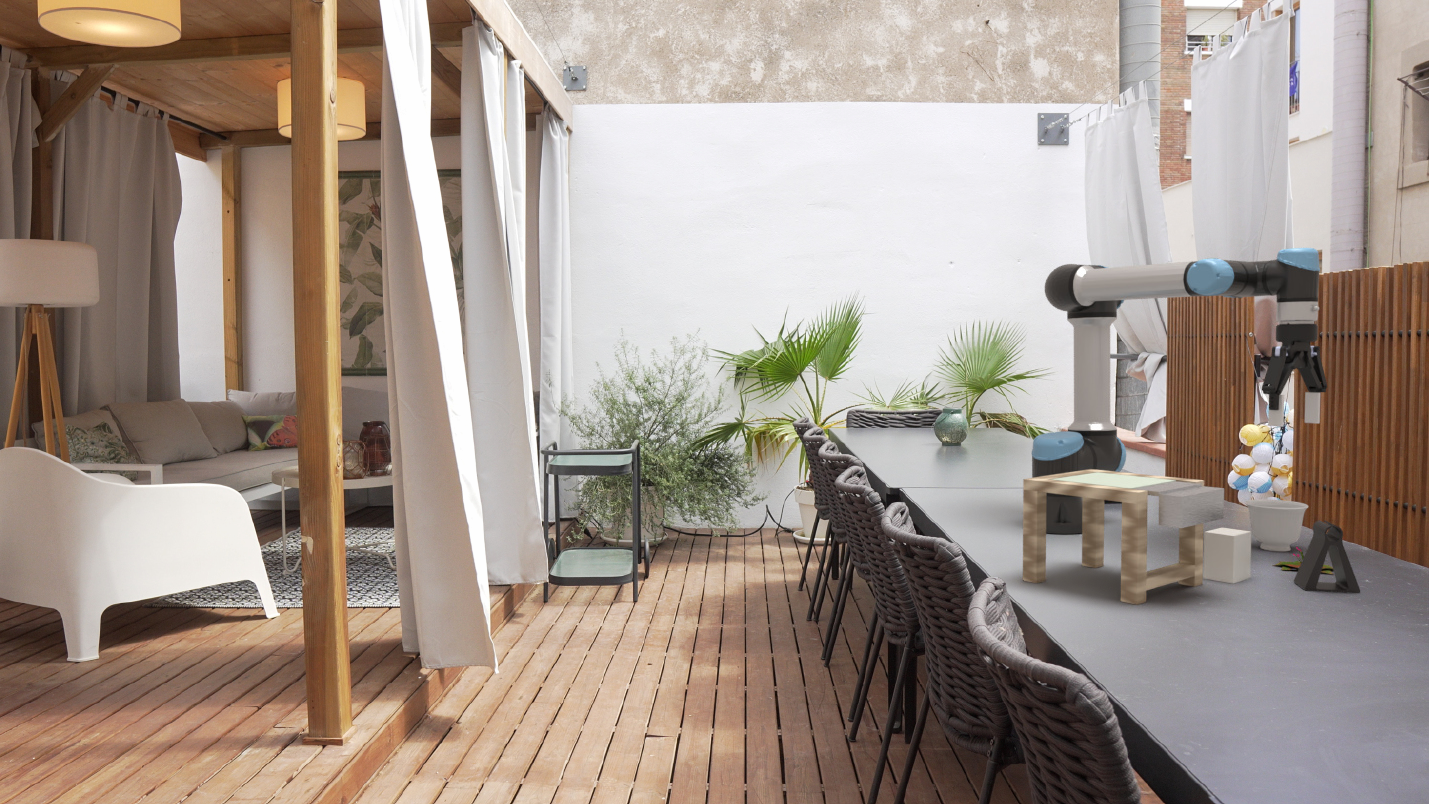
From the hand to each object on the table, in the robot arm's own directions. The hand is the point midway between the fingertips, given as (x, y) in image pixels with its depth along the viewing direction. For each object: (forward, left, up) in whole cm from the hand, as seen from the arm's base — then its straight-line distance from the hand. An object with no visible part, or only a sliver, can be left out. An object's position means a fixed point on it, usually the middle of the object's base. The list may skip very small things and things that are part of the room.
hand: (1294, 424), depth 204 cm
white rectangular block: (+1, -30, -28) cm, 41 cm away
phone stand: (+16, -24, -28) cm, 40 cm away
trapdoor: (-7, -50, -14) cm, 53 cm away
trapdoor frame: (-11, -50, -28) cm, 59 cm away
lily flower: (+7, -10, -28) cm, 31 cm away
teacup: (-6, +6, -28) cm, 29 cm away
